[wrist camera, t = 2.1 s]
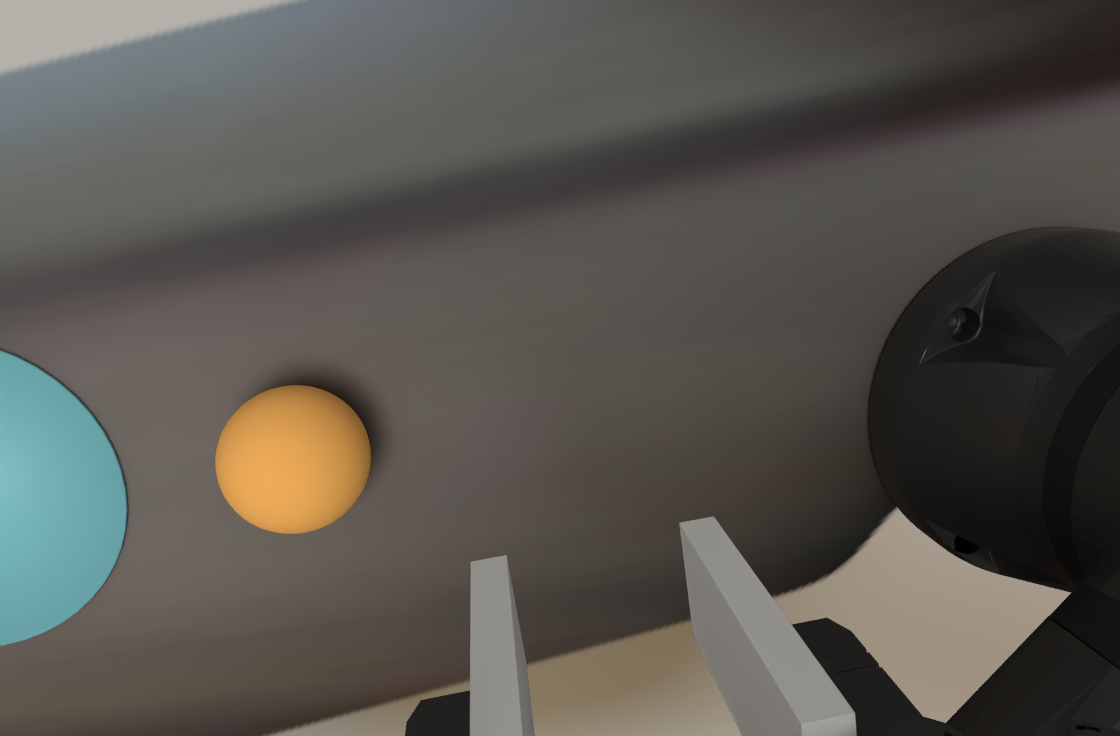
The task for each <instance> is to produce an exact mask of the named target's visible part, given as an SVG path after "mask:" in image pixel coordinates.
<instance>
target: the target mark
mask: <svg viewBox="0 0 1120 736" xmlns="http://www.w3.org/2000/svg"><path fill="white" fill-rule="evenodd" d="M127 515H128V503H127V490H126V485H125V480H124V476H123V471H122V468H121V465H120V462H119V460H118V457H117V454H116V452H115V449H114V447H113V446H112V444H111V442H110V440H109V438H108V436H107V434H106V433H105V431H104V429H103V428H102V426H101V425H100V424H99V422H98V421H97V419H96V418H95V417H94V415H93V414H92V412H91V411H90V410H89V409H88V408H87V407H86V406H85V405H84V404H83V403H82V402H81V400H80V399H79V398H78V397H77V396H76V395H75V394H74V393H72V392H71V391H70V390H69V389H68V388H67V387H65V386H64V385H63V384H62V383H61V382H60V381H58V380H57V379H56V378H54V377H53V376H51V375H50V374H48V373H47V372H45V371H44V370H42V369H41V368H39V367H38V366H36V365H34V364H32V363H30V362H28V361H26V360H24V359H22V358H20V357H18V356H16V355H14V354H11V353H9V352H6V351H3V350H1V349H0V646H1V645H6V644H10V643H14V642H18V641H22V640H25V639H28V638H31V637H33V636H36V635H38V634H41V633H44V632H45V631H47V630H49V629H51V628H53V627H55V626H57V625H59V624H61V623H62V622H64V621H65V620H66V619H68V618H69V617H71V616H72V615H73V614H75V613H76V612H78V611H79V610H80V609H81V608H82V607H83V606H84V605H85V604H86V603H87V602H88V601H89V600H90V599H91V598H92V597H93V596H94V595H95V594H96V593H97V591H98V590H99V589H100V588H101V586H102V585H103V584H104V582H105V581H106V580H107V578H108V576H109V575H110V573H111V571H112V569H113V568H114V566H115V564H116V562H117V559H118V556H119V554H120V551H121V549H122V546H123V542H124V537H125V533H126V528H127Z"/></svg>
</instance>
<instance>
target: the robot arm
mask: <svg viewBox="0 0 1120 736" xmlns="http://www.w3.org/2000/svg"><path fill="white" fill-rule="evenodd" d="M869 430H870V440H871V446H872V452H873V456H874V460H875V464H876V467H877V470H878V473H879V475H880V478H881V480H882V482H883V484H884V487H885V488H886V490H887V492H888V494H889V496H890V497H891V499H892V500H893V502H894V503H895V504H896V506H897V507H898V508H899V510H900V511H901V512H902V513H903V514H904V515H905V516H906V517H907V519H909V521H910V522H912V523H913V524H914V525H915V526H916V527H917V528H918V529H920V530H921V531H922V532H924V533H925V534H926V535H928V536H929V537H930V538H931V539H933V540H934V541H935V542H937V543H938V544H939V545H941V546H942V547H943V548H945V549H946V550H947V551H949V552H950V553H952V554H953V555H955V556H957V557H958V558H960V559H962V560H964V561H966V562H968V563H970V564H972V565H974V566H976V567H979V568H981V569H984V570H987V571H990V572H993V573H996V574H1000V575H1004V576H1008V577H1012V578H1016V579H1020V580H1024V581H1028V582H1032V583H1036V584H1039V585H1044V586H1047V587H1051V588H1055V589H1060V590H1064V591H1068V592H1071V594H1070V595H1069V596H1068V597H1067V598H1066V599H1065V600H1064V601H1063V602H1062V603H1061V604H1060V606H1059V607H1058V608H1057V609H1056V610H1055V611H1054V612H1053V613H1052V614H1051V615H1050V616H1048V617H1047V618H1046V619H1045V620H1044V622H1042V624H1041V625H1040V626H1039V627H1038V628H1037V629H1036V630H1035V631H1034V632H1033V633H1032V634H1031V635H1030V636H1029V637H1028V638H1027V639H1026V640H1025V641H1024V642H1023V643H1022V644H1021V645H1020V646H1019V647H1018V648H1017V650H1016V651H1015V652H1014V653H1013V654H1012V655H1011V656H1010V657H1009V658H1008V659H1007V660H1006V661H1005V662H1004V663H1003V664H1002V665H1001V666H1000V667H999V668H998V669H997V670H996V671H995V672H994V674H992V676H991V677H990V678H989V679H988V680H987V681H986V682H985V683H984V684H983V685H982V686H981V687H980V688H979V689H978V690H977V691H976V692H975V693H974V694H973V695H972V696H971V697H970V698H969V700H967V702H966V703H965V704H964V705H963V706H962V707H961V708H960V709H959V710H958V711H957V712H956V713H955V714H954V715H953V716H952V717H951V718H950V719H949V720H948V721H947V722H946V723H943V722H940V721H936V720H933V719H930V718H926V717H923V716H922V715H921V714H920V712H919V711H918V710H917V709H916V708H915V707H914V705H913V704H912V703H911V702H910V701H909V699H908V698H907V697H906V696H905V695H904V694H903V692H902V691H901V690H900V689H899V688H898V687H897V685H896V684H895V683H894V682H893V680H892V679H891V678H890V677H889V676H888V675H887V673H886V672H885V671H884V670H883V669H882V667H881V668H880V667H879V664H878V663H877V661H876V660H875V659H874V658H873V657H872V655H871V654H870V653H867V651H866V649H865V647H864V646H863V645H862V644H861V642H860V641H859V640H858V639H857V638H856V637H855V635H854V634H853V633H852V632H851V631H850V630H848V629H846V628H844V627H843V626H841V625H839V624H837V623H835V622H834V621H832V620H830V619H828V618H823V619H818V620H813V621H808V622H803V623H798V624H793V625H791V623H790V622H789V620H788V619H787V618H786V616H785V615H784V613H783V612H782V611H781V609H780V608H779V607H778V605H777V604H776V602H775V601H774V600H773V598H772V597H771V595H770V594H769V593H768V591H767V590H766V588H765V587H764V586H763V584H762V583H761V582H760V580H759V579H758V577H757V576H756V575H755V573H754V572H753V570H752V569H751V568H750V566H749V565H748V563H747V562H746V561H745V559H744V558H743V557H742V555H741V554H740V552H739V551H738V550H737V548H736V547H735V545H734V544H733V543H732V541H731V540H730V538H729V537H728V536H727V534H726V533H725V532H724V530H723V529H722V527H721V526H720V525H719V523H718V522H717V520H716V519H715V518H714V516H713V517H708V518H702V519H697V520H692V521H686V522H681V523H679V525H680V533H681V541H682V549H683V557H684V565H685V573H686V581H687V589H688V598H689V606H690V614H691V622H692V629H693V636H694V638H695V640H696V641H697V644H698V646H699V648H700V650H701V652H702V654H703V656H704V658H705V660H706V662H707V664H708V667H709V669H710V671H711V673H712V675H713V677H714V679H715V681H716V683H717V685H718V687H719V689H720V691H721V693H722V695H723V697H724V699H725V701H726V704H727V705H728V708H729V710H730V712H731V714H732V716H733V718H734V720H735V722H736V724H737V726H738V728H739V730H740V732H741V734H742V736H1120V233H1119V232H1114V231H1106V230H1096V229H1083V228H1071V227H1045V228H1036V229H1029V230H1025V231H1020V232H1016V233H1013V234H1009V235H1006V236H1003V237H1000V238H998V239H995V240H992V241H990V242H988V243H986V244H984V245H981V246H980V247H978V248H976V249H974V250H972V251H970V252H969V253H967V254H965V255H964V256H962V257H961V258H959V259H958V260H956V261H955V262H953V263H952V264H951V265H949V266H948V267H947V268H945V269H944V270H943V271H942V272H941V273H940V274H938V275H937V276H936V277H935V278H934V279H933V280H932V281H931V282H930V283H929V284H928V285H927V286H926V287H925V288H924V289H923V290H922V291H921V292H920V293H919V294H918V295H917V297H916V298H915V299H914V300H913V302H912V303H911V304H910V305H909V307H908V308H907V310H906V311H905V312H904V314H903V315H902V317H901V318H900V320H899V322H898V323H897V325H896V327H895V328H894V330H893V332H892V334H891V336H890V338H889V340H888V342H887V344H886V346H885V348H884V351H883V353H882V356H881V358H880V361H879V364H878V367H877V371H876V374H875V378H874V382H873V387H872V392H871V400H870V412H869ZM405 736H535V735H534V727H533V719H532V708H531V699H530V690H529V681H528V672H527V665H526V659H525V654H524V648H523V643H522V637H521V632H520V626H519V621H518V615H517V610H516V605H515V599H514V594H513V588H512V583H511V577H510V572H509V566H508V561H507V555H505V556H499V557H494V558H489V559H483V560H478V561H473V562H471V629H470V691H465V692H460V693H455V694H450V695H446V696H440V697H435V698H430V699H425V700H421V701H420V703H419V704H418V706H417V707H416V709H415V710H414V712H413V713H412V715H411V716H410V718H409V719H408V721H407V725H406V734H405Z"/></svg>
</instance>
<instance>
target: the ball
mask: <svg viewBox="0 0 1120 736" xmlns="http://www.w3.org/2000/svg"><path fill="white" fill-rule="evenodd" d="M215 463H216V474H217V479H218V483H219V486H220V488H221V491H222V493H223V495H224V497H225V498H226V500H227V501H228V503H229V504H230V505H231V507H232V508H233V509H234V510H235V511H236V512H237V513H238V514H239V515H240V516H241V517H243V518H244V519H245V520H247V521H248V522H250V523H251V524H253V525H255V526H257V527H259V528H262V529H265V530H268V531H272V532H276V533H285V534H297V533H305V532H309V531H313V530H316V529H319V528H322V527H324V526H326V525H328V524H330V523H332V522H334V521H335V520H337V519H338V518H340V517H341V516H342V515H343V514H344V513H345V512H347V511H348V510H349V509H350V508H351V507H352V505H353V504H354V503H355V502H356V501H357V499H358V497H359V496H360V494H361V493H362V491H363V489H364V487H365V484H366V482H367V479H368V475H369V471H370V464H371V449H370V443H369V439H368V435H367V432H366V430H365V428H364V425H363V423H362V422H361V420H360V418H359V417H358V415H357V414H356V413H355V412H354V411H353V409H352V408H351V407H350V406H348V405H347V404H346V403H345V402H344V401H342V400H341V399H340V398H338V397H337V396H335V395H333V394H331V393H329V392H327V391H324V390H322V389H319V388H315V387H310V386H303V385H290V386H282V387H277V388H273V389H270V390H267V391H264V392H262V393H260V394H258V395H256V396H254V397H253V398H251V399H250V400H248V401H247V402H246V403H244V404H243V405H242V406H241V407H240V408H239V409H238V410H237V411H236V412H235V413H234V414H233V415H232V417H231V418H230V419H229V421H228V422H227V424H226V425H225V427H224V429H223V431H222V433H221V436H220V438H219V442H218V446H217V450H216V459H215Z"/></svg>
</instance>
